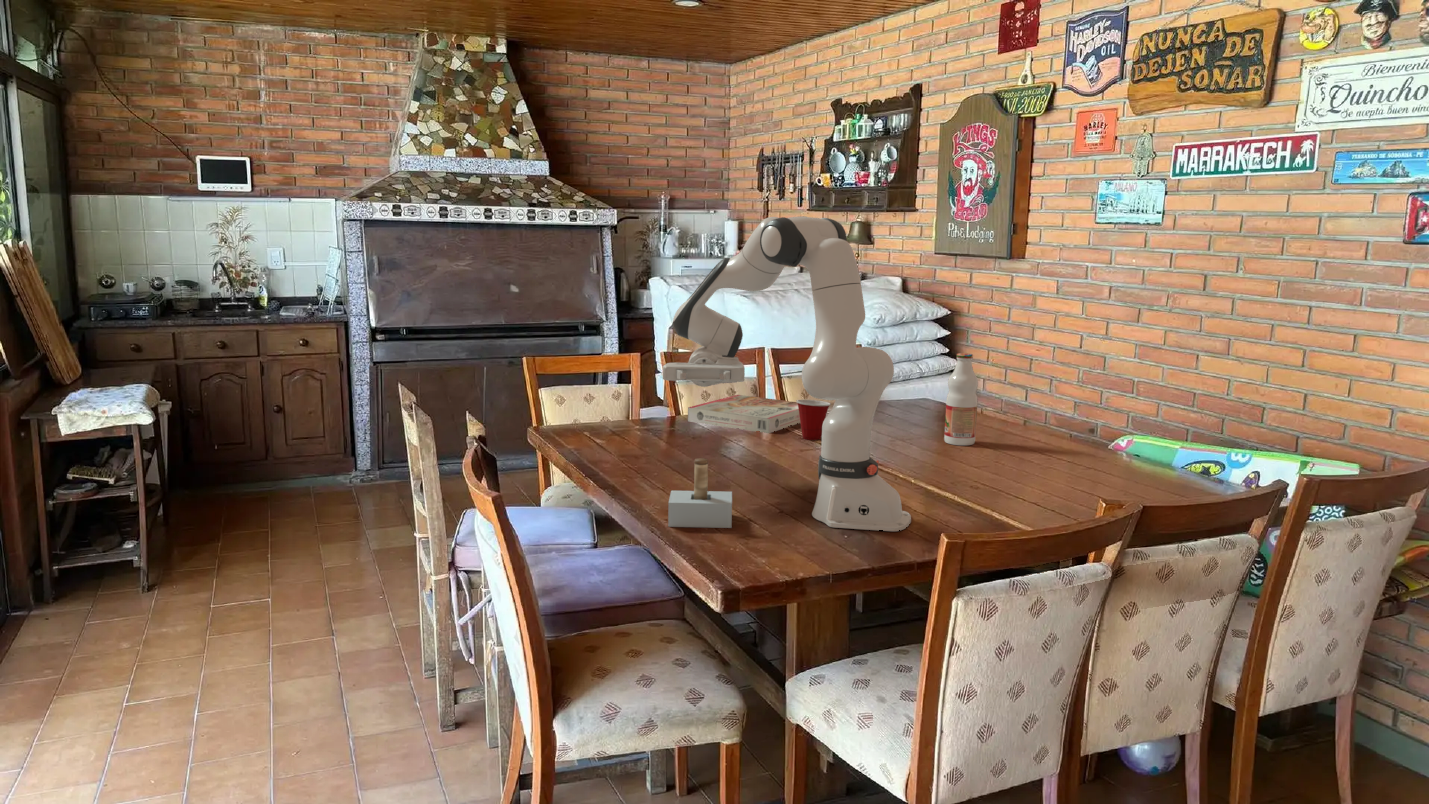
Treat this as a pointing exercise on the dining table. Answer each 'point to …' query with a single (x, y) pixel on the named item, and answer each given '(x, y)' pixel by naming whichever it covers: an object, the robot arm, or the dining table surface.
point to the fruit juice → (961, 403)
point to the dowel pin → (700, 479)
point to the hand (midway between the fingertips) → (702, 377)
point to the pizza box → (746, 413)
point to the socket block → (700, 510)
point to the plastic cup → (812, 417)
